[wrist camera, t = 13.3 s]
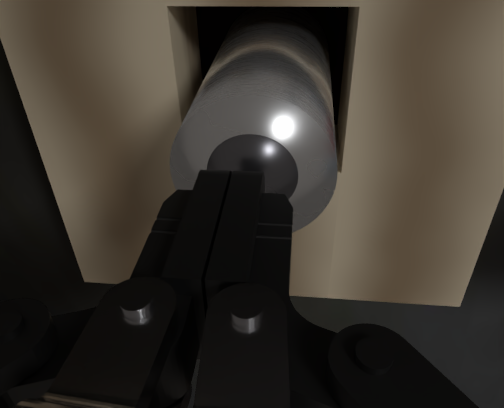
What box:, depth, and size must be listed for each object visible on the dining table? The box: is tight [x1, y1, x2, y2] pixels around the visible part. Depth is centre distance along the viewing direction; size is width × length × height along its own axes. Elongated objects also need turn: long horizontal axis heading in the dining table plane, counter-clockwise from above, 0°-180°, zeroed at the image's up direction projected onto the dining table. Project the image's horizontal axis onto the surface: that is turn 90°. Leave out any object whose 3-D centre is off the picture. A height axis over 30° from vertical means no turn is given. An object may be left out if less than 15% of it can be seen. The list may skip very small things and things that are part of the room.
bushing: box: [170, 6, 338, 233], centre depth 16 cm, size 4×4×9 cm
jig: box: [0, 0, 504, 307], centre depth 19 cm, size 18×14×4 cm
